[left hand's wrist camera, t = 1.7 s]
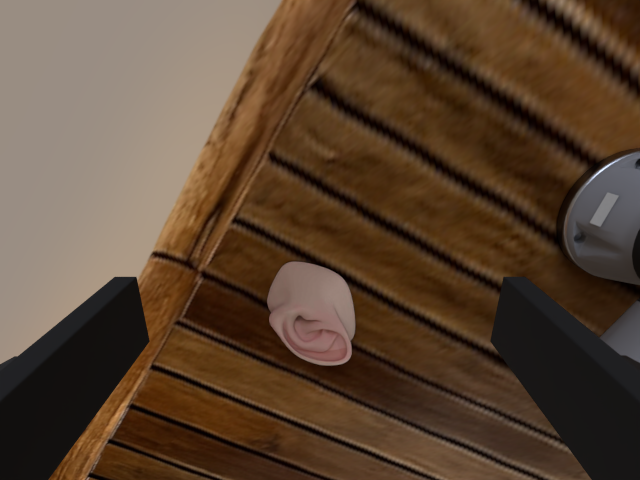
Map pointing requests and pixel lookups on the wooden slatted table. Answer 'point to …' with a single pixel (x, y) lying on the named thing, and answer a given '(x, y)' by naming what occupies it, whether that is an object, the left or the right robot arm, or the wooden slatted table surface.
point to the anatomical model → (312, 313)
